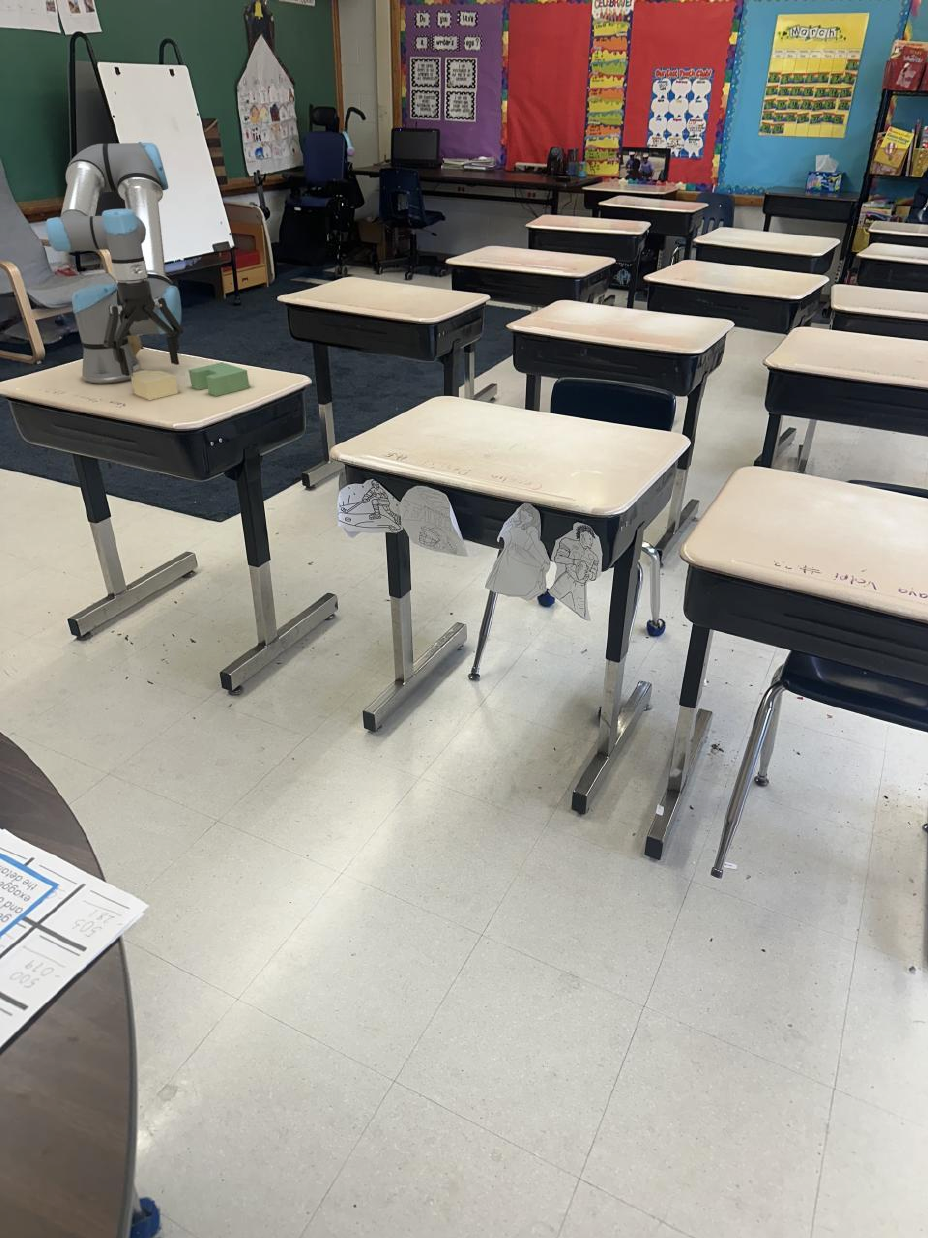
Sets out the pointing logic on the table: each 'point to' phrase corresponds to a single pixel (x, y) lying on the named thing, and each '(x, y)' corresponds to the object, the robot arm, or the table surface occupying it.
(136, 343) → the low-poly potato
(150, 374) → the cream pad
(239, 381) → the green u-shaped block
